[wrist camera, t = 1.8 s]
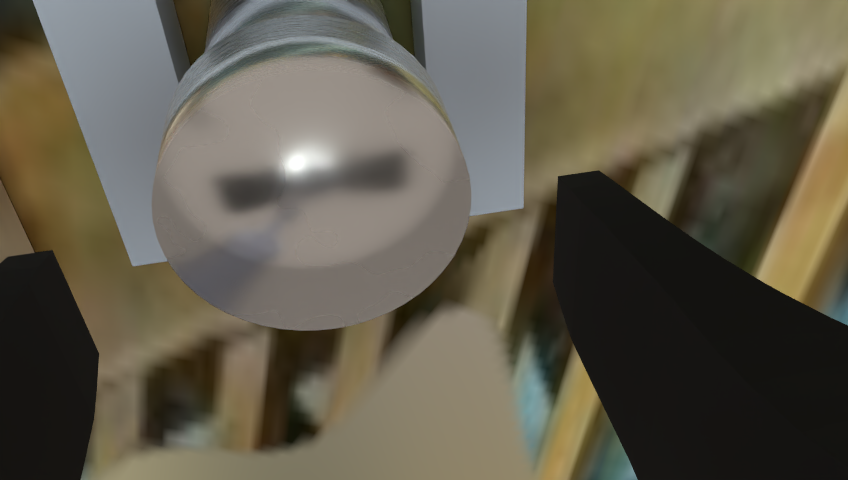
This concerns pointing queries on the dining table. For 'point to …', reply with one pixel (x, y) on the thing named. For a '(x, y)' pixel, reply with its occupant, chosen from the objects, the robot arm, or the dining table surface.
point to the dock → (11, 230)
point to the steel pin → (308, 167)
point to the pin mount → (168, 62)
